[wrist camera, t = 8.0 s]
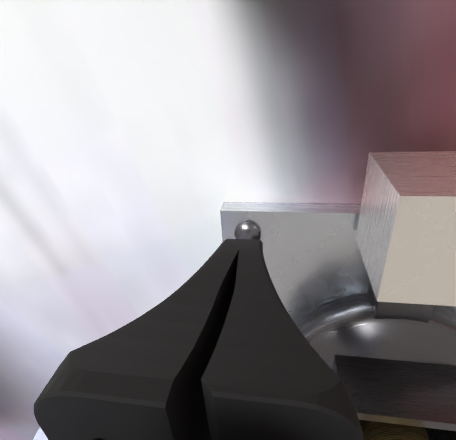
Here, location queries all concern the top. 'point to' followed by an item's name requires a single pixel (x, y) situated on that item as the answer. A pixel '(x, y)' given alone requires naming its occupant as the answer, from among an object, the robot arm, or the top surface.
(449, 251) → the square socket hub
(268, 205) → the flange plate
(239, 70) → the top surface
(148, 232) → the top surface
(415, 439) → the pin
